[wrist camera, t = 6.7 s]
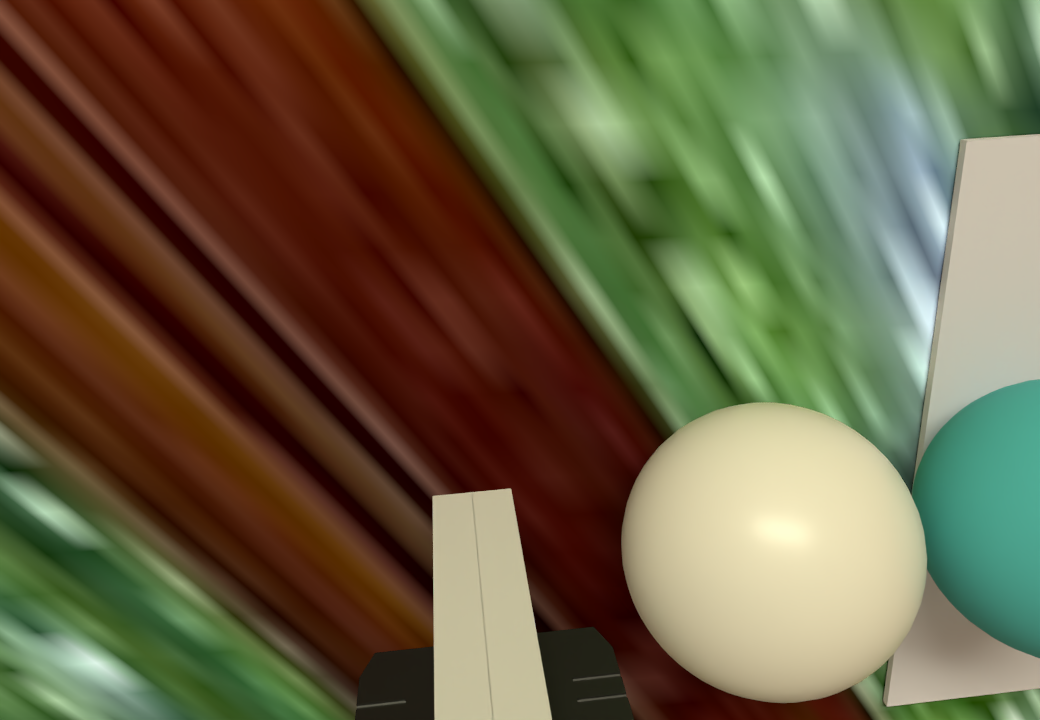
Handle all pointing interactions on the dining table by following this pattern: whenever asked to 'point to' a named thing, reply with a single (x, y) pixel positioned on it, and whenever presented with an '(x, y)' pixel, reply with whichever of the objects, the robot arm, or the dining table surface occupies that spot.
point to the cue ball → (774, 552)
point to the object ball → (987, 513)
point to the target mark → (977, 391)
